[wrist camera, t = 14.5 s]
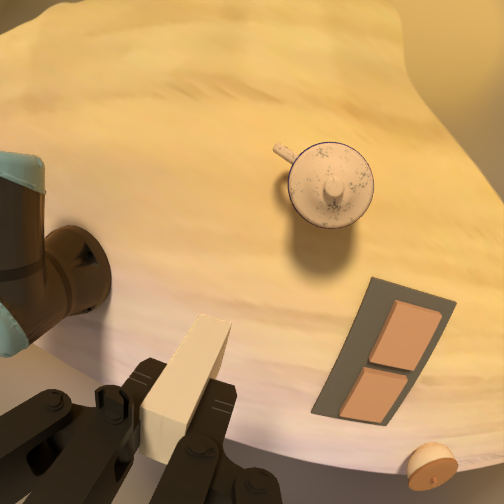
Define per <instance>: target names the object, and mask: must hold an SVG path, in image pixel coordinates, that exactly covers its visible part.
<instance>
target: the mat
mask: <svg viewBox="0 0 504 504" xmlns="http://www.w3.org/2000/svg"><path fill="white" fill-rule="evenodd" d="M395 300H399V301H402V302H406V303H409V304H413V305H416V306H420V307H423V308H427V309H431V310H434V311H438V312H440V314H441V315H442V318H441V320H440V322H439V324H438V326H437V328H436V330H435V332H434V334H433V336H432V338H431V340H430V342H429V344H428V346H427V347H426V349H425V351H424V353H423V355H422V357H421V359H420V360H419V362H418V364H417V366H416V367H415V369H414V371H412V370H407V369H402V368H397V367H392V366H387V365H383V364H378V363H373V362H370V360H369V355H370V353H371V351H372V349H373V347H374V345H375V342H376V340H377V338H378V336H379V334H380V332H381V330H382V328H383V326H384V323H385V321H386V319H387V317H388V314H389V312H390V310H391V308H392V305H393V303H394V301H395ZM456 304H457V303H456V302H454V301H451V300H448V299H445V298H441V297H438V296H435V295H431V294H428V293H425V292H421V291H418V290H415V289H411V288H408V287H405V286H401V285H398V284H395V283H391V282H388V281H385V280H381V279H378V278H374V277H372V278H371V280H370V283H369V285H368V288H367V291H366V293H365V296H364V298H363V301H362V303H361V305H360V308H359V310H358V313H357V315H356V317H355V320H354V322H353V324H352V327H351V329H350V331H349V334H348V336H347V338H346V340H345V343H344V345H343V347H342V349H341V351H340V354H339V356H338V358H337V360H336V362H335V364H334V366H333V368H332V371H331V373H330V375H329V377H328V379H327V381H326V383H325V385H324V387H323V389H322V391H321V393H320V395H319V397H318V399H317V401H316V402H315V404H314V406H313V408H312V410H311V413H314V414H319V415H324V416H329V417H334V418H339V419H345V420H351V421H356V422H363V423H369V424H376V425H383V426H387V424H388V423H389V421H390V420H391V419H392V417H393V416H394V414H395V413H396V411H397V410H398V408H399V407H400V405H401V404H402V402H403V401H404V399H405V398H406V396H407V394H408V393H409V391H410V390H411V388H412V387H413V385H414V383H415V382H416V380H417V378H418V377H419V375H420V373H421V372H422V370H423V368H424V366H425V365H426V363H427V361H428V359H429V358H430V356H431V354H432V352H433V350H434V348H435V347H436V345H437V343H438V341H439V339H440V337H441V335H442V333H443V331H444V329H445V327H446V325H447V323H448V321H449V319H450V317H451V315H452V313H453V311H454V308H455V306H456ZM363 367H367V368H371V369H376V370H381V371H386V372H391V373H396V374H401V375H406V377H407V380H408V381H407V383H406V384H405V386H404V388H403V389H402V391H401V393H400V394H399V396H398V397H397V399H396V401H395V402H394V404H393V405H392V407H391V408H390V410H389V411H388V413H387V414H386V416H385V417H384V419H383V420H382V422H381V423H378V422H371V421H364V420H358V419H352V418H346V417H341V416H339V410H340V408H341V407H342V405H343V403H344V401H345V400H346V398H347V396H348V394H349V393H350V391H351V389H352V387H353V385H354V383H355V382H356V380H357V378H358V376H359V374H360V372H361V370H362V368H363Z"/></svg>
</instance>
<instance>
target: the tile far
mask: <svg viewBox="0 0 504 504" xmlns="http://www.w3.org/2000/svg"><path fill="white" fill-rule="evenodd" d="M407 381H408V380H407V377H406V375H401V374H396V373H391V372H386V371H381V370H376V369H371V368H367V367H363V368H362V370H361V372H360V374H359V376H358V378H357V380H356V382H355V383H354V385H353V387H352V389H351V391H350V393H349V394H348V396H347V398H346V400H345V401H344V403H343V405H342V407H341V408H340V410H339V416H341V417H346V418H352V419H358V420H364V421H371V422H378V423H381V422H382V420H383V419H384V417H385V416H386V414H387V413H388V411H389V410H390V408H391V407H392V405H393V404H394V402H395V401H396V399H397V397H398V396H399V394H400V393H401V391H402V389H403V388H404V386H405V384H406V383H407Z"/></svg>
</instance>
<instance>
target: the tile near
mask: <svg viewBox="0 0 504 504" xmlns="http://www.w3.org/2000/svg"><path fill="white" fill-rule="evenodd" d="M441 318H442V315H441V314H440V312H438V311H434V310H431V309H427V308H423V307H420V306H416V305H413V304H409V303H406V302H402V301H399V300H395V301H394V303H393V305H392V308H391V310H390V312H389V314H388V317H387V319H386V321H385V323H384V326H383V328H382V330H381V332H380V334H379V336H378V338H377V340H376V342H375V345H374V347H373V349H372V351H371V353H370V355H369V360H370V362H373V363H378V364H383V365H387V366H392V367H397V368H402V369H407V370H412V371H414V369H415V367H416V366H417V364H418V362H419V360H420V359H421V357H422V355H423V353H424V351H425V349H426V347H427V346H428V344H429V342H430V340H431V338H432V336H433V334H434V332H435V330H436V328H437V326H438V324H439V322H440V320H441Z"/></svg>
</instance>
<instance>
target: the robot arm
mask: <svg viewBox="0 0 504 504" xmlns="http://www.w3.org/2000/svg"><path fill="white" fill-rule="evenodd" d="M45 194H46V190H45V166H44V163H43V161H42V159H41V158H39V157H38V156H35V155H30V154H22V153H14V152H4V151H0V357H6V358H7V357H11V356H14V355H15V354H17V353H18V352H20V351H21V350H23V349H26V348H27V347H28V346H29V345H30V344H32V343H33V342H34V341H36V340H37V339H38V338H39V337H41V336H42V335H43V334H45V333H46V332H47V331H48V330H50V329H51V328H52V327H53V326H55V325H56V324H57V323H59V322H60V321H61V320H62V319H64V318H65V317H68V316H73V315H79V314H84V313H88V312H90V311H92V310H94V309H95V308H97V307H98V306H99V305H101V304H102V303H103V302H104V301H105V299H106V298H107V296H108V293H109V290H110V286H111V272H110V266H109V263H108V259H107V257H106V254H105V252H104V250H103V249H102V247H101V245H100V244H99V242H98V241H97V240H96V239H95V238H94V237H93V236H92V235H91V234H90V233H89V232H87V231H86V230H84V229H82V228H80V227H77V226H64V227H62V228H59V229H56V230H54V231H52V232H51V233H50V234H48V235H47V237H46V238H45V239H44V207H45ZM231 325H232V323H230V322H227V321H223V320H220V319H217V318H214V317H211V316H208V315H204V314H200V316H199V317H198V319H197V320H196V322H195V323H194V325H193V326H192V328H191V329H190V331H189V332H188V334H187V335H186V337H185V338H184V340H183V341H182V343H181V344H180V346H179V347H178V349H177V350H176V352H175V353H174V355H173V356H172V358H171V360H170V361H169V363H168V364H166V363H163V362H161V361H158V360H156V359H153V358H148V359H146V360H144V361H142V362H140V363H139V365H138V366H137V367H136V369H135V370H134V372H132V374H131V375H130V376H129V378H128V379H127V380H126V381H125V383H124V384H123V385H122V387H120V386H116V385H105V386H102V387H99V388H98V389H96V390H95V401H96V407H86V406H81V405H77V404H73V403H72V402H71V399H70V398H69V396H68V395H67V394H65V393H64V392H62V391H60V390H56V389H48V390H45V391H42V392H40V393H39V394H37V395H35V396H34V397H32V398H30V399H29V400H27V401H25V402H23V403H22V404H20V405H18V406H17V407H15V408H13V409H11V410H10V411H8V412H6V413H5V414H3V415H2V416H0V504H15V503H17V502H18V501H19V500H21V499H22V498H23V497H25V496H26V495H28V494H29V493H30V492H31V493H30V494H29V496H28V497H27V498H26V500H25V501H24V502H23V504H111V503H112V501H113V499H114V497H115V495H116V494H117V492H118V490H119V488H120V486H121V484H122V483H123V481H124V479H125V477H126V476H127V474H128V472H129V470H130V468H131V467H132V465H133V460H134V454H135V452H136V451H137V449H138V447H139V453H140V454H142V455H144V456H146V457H149V458H151V459H154V460H156V461H159V462H161V463H164V464H167V466H166V468H165V471H164V473H163V475H162V477H161V479H160V481H159V484H158V485H157V488H156V490H155V492H154V494H153V496H152V499H151V500H150V503H149V504H282V499H281V493H280V487H279V483H278V481H277V478H276V477H274V475H273V474H272V473H270V472H268V471H266V470H265V469H261V468H256V467H255V468H247V469H243V468H242V467H240V466H238V465H236V464H235V463H233V462H232V461H231V460H230V459H229V458H228V457H227V456H226V454H225V453H224V450H223V441H224V437H225V434H226V431H227V428H228V424H229V421H230V418H231V415H232V411H233V408H234V405H235V401H236V398H237V393H236V389H235V386H234V385H231V384H227V383H224V382H221V381H218V380H215V379H216V377H217V374H218V372H219V370H220V367H221V363H222V359H223V355H224V352H225V348H226V344H227V340H228V336H229V332H230V329H231Z"/></svg>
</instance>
